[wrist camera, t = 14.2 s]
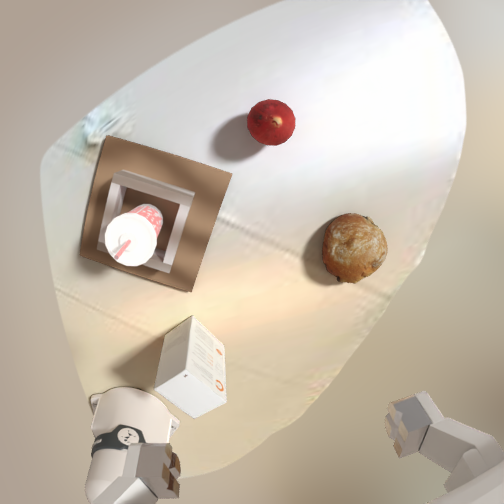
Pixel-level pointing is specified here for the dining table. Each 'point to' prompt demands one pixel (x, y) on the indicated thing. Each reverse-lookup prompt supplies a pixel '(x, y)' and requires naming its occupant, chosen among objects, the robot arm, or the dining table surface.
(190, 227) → the walnut board
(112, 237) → the beverage cup
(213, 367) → the small box
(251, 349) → the dining table surface
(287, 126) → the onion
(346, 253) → the bread roll
